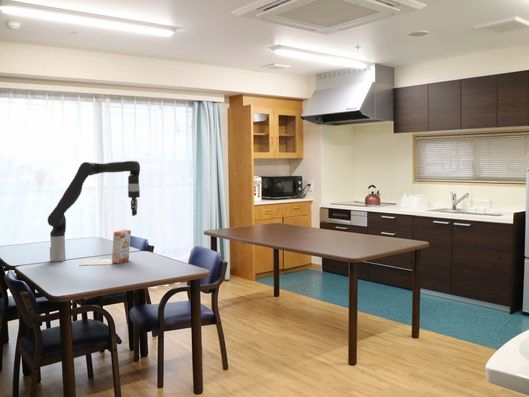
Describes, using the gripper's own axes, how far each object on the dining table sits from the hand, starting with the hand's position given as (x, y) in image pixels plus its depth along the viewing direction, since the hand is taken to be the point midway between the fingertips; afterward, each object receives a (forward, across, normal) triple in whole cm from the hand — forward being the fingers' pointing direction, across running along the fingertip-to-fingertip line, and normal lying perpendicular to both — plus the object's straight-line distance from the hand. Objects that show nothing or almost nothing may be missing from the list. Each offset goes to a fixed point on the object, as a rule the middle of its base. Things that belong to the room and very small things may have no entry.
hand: (134, 215), depth 333 cm
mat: (+32, 0, -24) cm, 40 cm away
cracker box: (+32, 0, -10) cm, 33 cm away
